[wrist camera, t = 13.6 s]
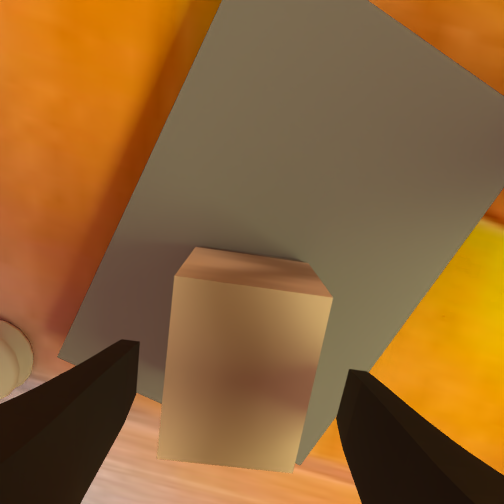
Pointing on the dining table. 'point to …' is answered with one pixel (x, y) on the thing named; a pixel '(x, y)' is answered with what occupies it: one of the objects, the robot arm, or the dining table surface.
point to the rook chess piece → (13, 358)
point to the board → (304, 181)
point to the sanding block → (241, 359)
